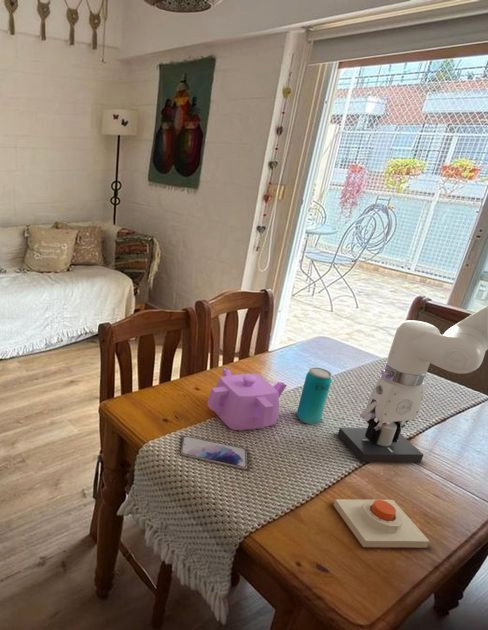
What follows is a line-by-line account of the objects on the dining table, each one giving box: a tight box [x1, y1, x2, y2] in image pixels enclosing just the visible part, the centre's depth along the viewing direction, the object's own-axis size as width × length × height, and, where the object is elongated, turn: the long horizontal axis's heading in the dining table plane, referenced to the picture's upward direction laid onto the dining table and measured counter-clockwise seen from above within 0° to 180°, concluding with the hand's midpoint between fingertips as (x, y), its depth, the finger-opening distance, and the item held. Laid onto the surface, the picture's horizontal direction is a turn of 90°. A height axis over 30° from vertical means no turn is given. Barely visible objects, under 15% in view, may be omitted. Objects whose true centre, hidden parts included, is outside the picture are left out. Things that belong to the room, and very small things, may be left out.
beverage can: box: [296, 367, 332, 425], centre depth 116 cm, size 6×6×15 cm
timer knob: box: [374, 418, 397, 446], centre depth 106 cm, size 4×4×5 cm
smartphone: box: [180, 435, 248, 470], centre depth 106 cm, size 7×1×15 cm
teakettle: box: [206, 368, 288, 431], centre depth 118 cm, size 17×17×12 cm
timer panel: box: [337, 427, 425, 464], centre depth 107 cm, size 14×10×3 cm
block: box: [333, 498, 430, 549], centre depth 86 cm, size 12×10×4 cm
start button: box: [371, 499, 396, 521], centre depth 85 cm, size 4×4×2 cm
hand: (380, 438), depth 107 cm, fingers closed on timer knob, 4 cm apart
